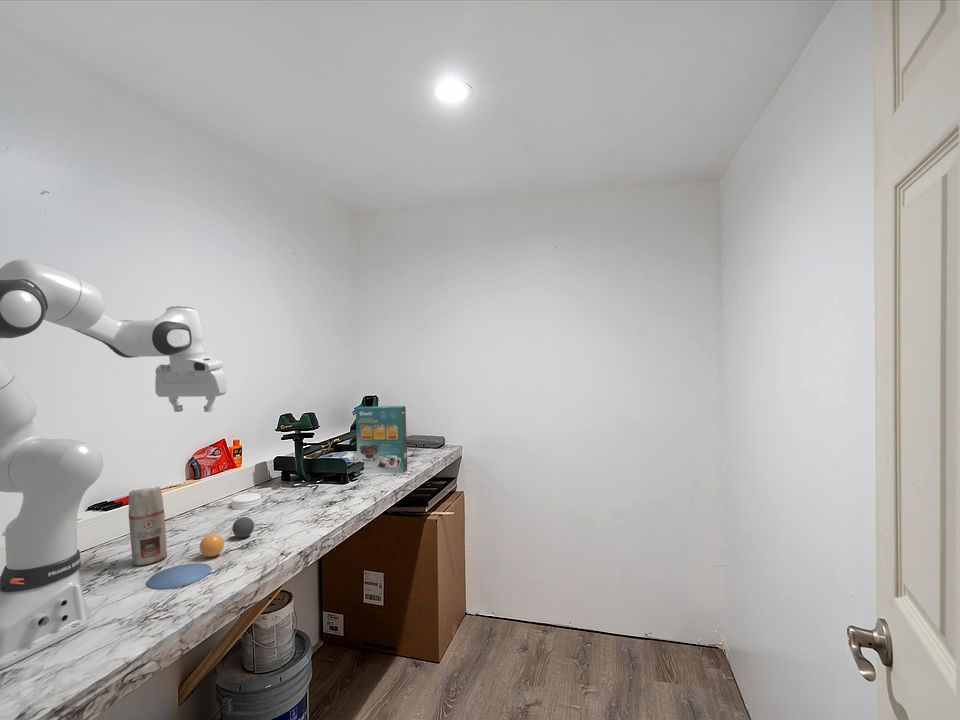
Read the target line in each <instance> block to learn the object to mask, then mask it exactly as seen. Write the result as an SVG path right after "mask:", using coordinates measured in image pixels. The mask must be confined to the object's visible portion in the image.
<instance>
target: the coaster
mask: <svg viewBox="0 0 960 720" xmlns="http://www.w3.org/2000/svg"><path fill="white" fill-rule="evenodd" d="M230 501H231V508H232V509H233V510H249V509H254V508H257V507H259V506H260V505H262V494H260V493H255V492H251V493H243V494H239V495H236V496H233V497H232V499H231V500H230Z"/></svg>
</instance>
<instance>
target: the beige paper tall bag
mask: <svg viewBox="0 0 960 720" xmlns="http://www.w3.org/2000/svg"><path fill="white" fill-rule="evenodd" d="M163 499H164V498H163V493H162V488H161V486H155V487H148V488H141V489H135V490H131V491H129V492H128V522H129V533H130V534H129V536H130V547H131V557H132V565H134V566H146V565H150V564H152V563H153V564H154V563H156V562H160V561H162V560H164V559H165V558H168V557H167V556H168V553H167V552H168V551H167V547H168V545H167V532H166V531H167V530H166V519H165V518H166V516H165V514H166V513H165V508H164V500H163Z"/></svg>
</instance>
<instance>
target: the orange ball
mask: <svg viewBox="0 0 960 720" xmlns="http://www.w3.org/2000/svg"><path fill="white" fill-rule="evenodd" d="M224 547H225V540H224V538H223V536H221V535H219V534H217V533H211V534H208V535H206V536H205V537H204V538H202V540H201V541H200V543H199V551H200V553H201V555H203V556H204V557H207V558H213V557H216V556H218V555H220V554H221V552H223V549H224Z"/></svg>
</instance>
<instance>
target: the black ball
mask: <svg viewBox="0 0 960 720" xmlns="http://www.w3.org/2000/svg"><path fill="white" fill-rule="evenodd" d="M254 528H255V522H254V521H253V519H252V518H250V517H248V516H241V517H239V518H237V519H236V520H235V521H234V523H233V525H232V528H231V529H232V533H233V534H234V536H235V537H237V538H241V539H242V538H243V539H244V538H247V537H249V536H251V534H252V533H253V532H254Z"/></svg>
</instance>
